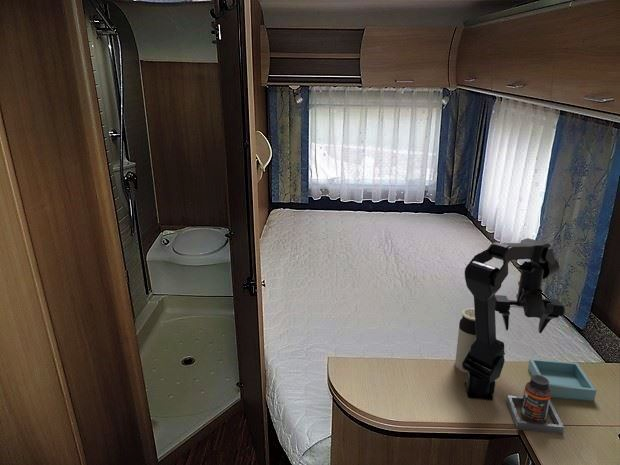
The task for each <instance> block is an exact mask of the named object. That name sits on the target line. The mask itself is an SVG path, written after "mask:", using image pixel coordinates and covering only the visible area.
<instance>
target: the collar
mask: <svg viewBox="0 0 620 465" xmlns="http://www.w3.org/2000/svg"><path fill="white" fill-rule="evenodd" d="M505 401H506V403H507V406H508V410H509V412H510V414H511V417H512V420H513V423H514V426H515V428H516V430H522V431H529V432H538V433H547V434H554V435H555V434H557V435H564V433H565V426H564V424H563V421H562V420H561V418H560V417H559V415H558V412H557V410H556V409H555V406H554V405H553V403H552V401H551V400H550V404H549V408H548V413H549V415H550V417H551V419H552V421H553V423H545V422H544V423H538V422H529V421H527V420H521V418H520V416H519V414H518V410H517V408H516V406H515V404H516V405H517V404H518V405H522V402H523V396H522V395H521V396H520V395H519V396H518V395H509V394H507V395H506V400H505Z"/></svg>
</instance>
